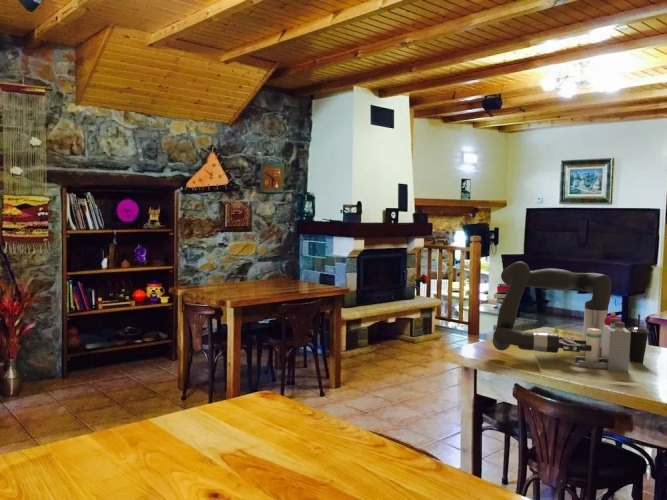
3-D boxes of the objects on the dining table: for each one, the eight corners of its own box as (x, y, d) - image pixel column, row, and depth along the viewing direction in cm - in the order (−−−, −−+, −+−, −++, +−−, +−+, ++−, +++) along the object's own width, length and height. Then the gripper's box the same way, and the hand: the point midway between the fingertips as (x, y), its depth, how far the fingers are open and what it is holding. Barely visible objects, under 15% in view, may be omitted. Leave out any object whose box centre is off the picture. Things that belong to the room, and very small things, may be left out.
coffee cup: (583, 362, 222) (585, 327, 221) (597, 363, 220) (599, 328, 219) (585, 366, 217) (588, 330, 216) (600, 367, 215) (602, 331, 214)
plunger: (608, 334, 221) (609, 317, 221) (617, 334, 221) (618, 318, 220) (610, 335, 218) (611, 319, 218) (619, 336, 218) (620, 319, 217)
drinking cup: (621, 360, 230) (624, 312, 229) (639, 361, 231) (642, 312, 229) (632, 366, 222) (636, 316, 221) (651, 366, 223) (654, 316, 222)
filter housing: (573, 362, 226) (576, 323, 225) (620, 366, 221) (622, 326, 220) (579, 370, 214) (581, 328, 213) (628, 374, 210) (630, 332, 209)
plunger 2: (613, 338, 214) (614, 321, 213) (622, 339, 213) (623, 322, 212) (615, 340, 211) (616, 323, 210) (624, 340, 210) (625, 323, 209)
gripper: (547, 336, 215) (593, 340, 211) (543, 329, 229) (586, 332, 225) (546, 356, 216) (592, 359, 212) (542, 347, 229) (585, 350, 225)
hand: (589, 345), depth 218 cm, fingers open, 8 cm apart
